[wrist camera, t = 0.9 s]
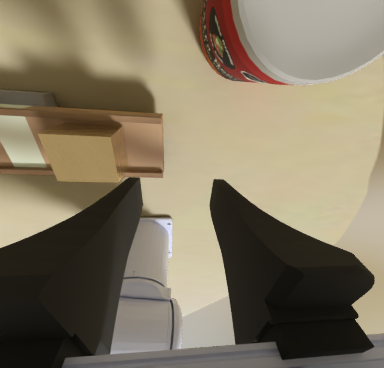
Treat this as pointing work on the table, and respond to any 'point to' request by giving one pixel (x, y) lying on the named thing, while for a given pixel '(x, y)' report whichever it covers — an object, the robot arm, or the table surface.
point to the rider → (86, 152)
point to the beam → (53, 116)
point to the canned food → (291, 39)
